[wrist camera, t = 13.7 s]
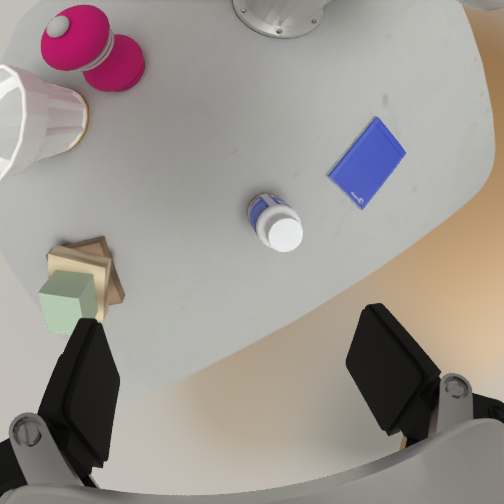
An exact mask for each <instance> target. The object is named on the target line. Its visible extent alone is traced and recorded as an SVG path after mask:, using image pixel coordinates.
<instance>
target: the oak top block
mask: <svg viewBox="0 0 504 504" xmlns="http://www.w3.org/2000/svg"><path fill="white" fill-rule="evenodd" d="M110 267H111V258H108V257H103V256H99V255H95V254H91V253H87V252H82V251H78V250H74V249H70V248H66V247H62V246H58V245H56V246H55V247H54V248H53V249H52V250H51V251H50V252H49V253H48V274H49V278H50V277H51V275H52V274H53V273H54V272H55V271H56V270H61V271H70V272H79V273H88V274H93V276H94V285H95V293H96V301H97V308H98V312H97V315H96V317H95V319H96V320H98V321H102V322H103V321H104V319H105V316H106V314H107V311H108V299H109V281H110Z"/></svg>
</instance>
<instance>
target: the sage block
mask: <svg viewBox="0 0 504 504" xmlns="http://www.w3.org/2000/svg"><path fill="white" fill-rule="evenodd" d="M38 295H39V299H40V303H41V307H42V311H43V315H44V319H45V322H46V326H47V329H48V331H49V332H55V333H60V334H65V335H71V334H72V332H73V330H74V328H75V326H76V324H77V322H78V320H79V319H80V318H95V317H96V315H97V312H98V308H97V301H96V293H95V285H94V276H93V274H88V273H79V272H70V271H61V270H56V271H55V272H54V273H53V274H52V275H51V277H50V278H49V279H48V280H47V282H46V283H45V284H44V286H43V287H42V288H41V289H40V291H39V292H38Z"/></svg>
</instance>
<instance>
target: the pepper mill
mask: <svg viewBox="0 0 504 504" xmlns="http://www.w3.org/2000/svg"><path fill="white" fill-rule="evenodd" d="M41 53H42V56H43V59H44V60H45V61H46V62H47V64H48V65H50V66H51V67H53V68H55V69H57V70H64V71H70V70H77V71H83V74H84V77H85V79H86V81H87V82H88V83H89V84H90V85H91V86H92V87H94V88H95V89H97V90H100V91H107V92H109V91H124V90H127V89H129V88H131V87H132V86H134V85H135V84H136V83H137V82H138V81H139V80H140V78H141V77H142V75H143V72H144V68H145V62H144V58H143V55H142V50H141V48H140V46H139V45H138V43H137V42H135V41H134V40H133V39H132V38H130V37H128V36H125V35H117V34H116V35H114V34H113V32H112V30H111V29H110V25H109V21H108V18H107V16H106V15H105V13H104V12H103V11H101V10H100V9H99V8H97V7H95V6H91V5H77V6H73V7H70V8H68V9H66V10H64V11H62V12H61V13H59V14H58V15H57V16H56V17H54V18H53V19H52V20H51V21H50V22H49V23H48V26H47V27H46V29H45V31H44V33H43V36H42V39H41Z"/></svg>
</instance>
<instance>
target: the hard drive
mask: <svg viewBox="0 0 504 504" xmlns="http://www.w3.org/2000/svg"><path fill="white" fill-rule="evenodd" d="M405 154H406V152H405V151H404V149H403V148H402V146H401V145H400V144H399V142H398V141H397V140H396V139H395V137H394V136H393V135H392V134H391V132H390V131H389V130H388V128H387V127H386V126H385V125H384V124H383V122H382V121H381V120H380V119H379V118H378V117H376V116H375V117H373V119H372V120H371V121H370V122H369V123H368V125H367V126H366V127H365V128H364V129H363V131H362V132H361V133H360V134H359V136H358V137H357V138H356V139H355V140H354V142H353V143H352V144H351V145H350V147H349V148H348V149H347V150H346V151H345V153H344V154H343V155H342V156H341V157H340V159H339V160H338V161H337V162H336V164H335V165H334V166H333V167H332V168H331V170H330V171H329V172H328V173H327V174H326V176H327V177H328V178H329V179H330V180H331V181H332V182H333V183H334V184H335V185H336V186H337V187H338V188H339V189H340V190H341V191H342V192H343V193H344V194H345V195H346V196H347V197H348V198H349V199H350V200H351V201H352V202H353V203H354V204H355V205H356V206H357V207H358V208H359V209H360V210H363V208H364V207H365V206H366V205H367V204H368V202H369V201H370V200H371V199H372V197H373V196H374V195H375V193H376V192H377V191H378V190H379V188H380V187H381V186H382V185H383V183H384V182H385V181H386V179H387V178H388V177H389V176H390V174H391V173H392V172H393V170H394V169H395V168H396V166H397V165H398V164H399V162H400V161H401V160H402V158H403V157H404V156H405Z"/></svg>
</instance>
